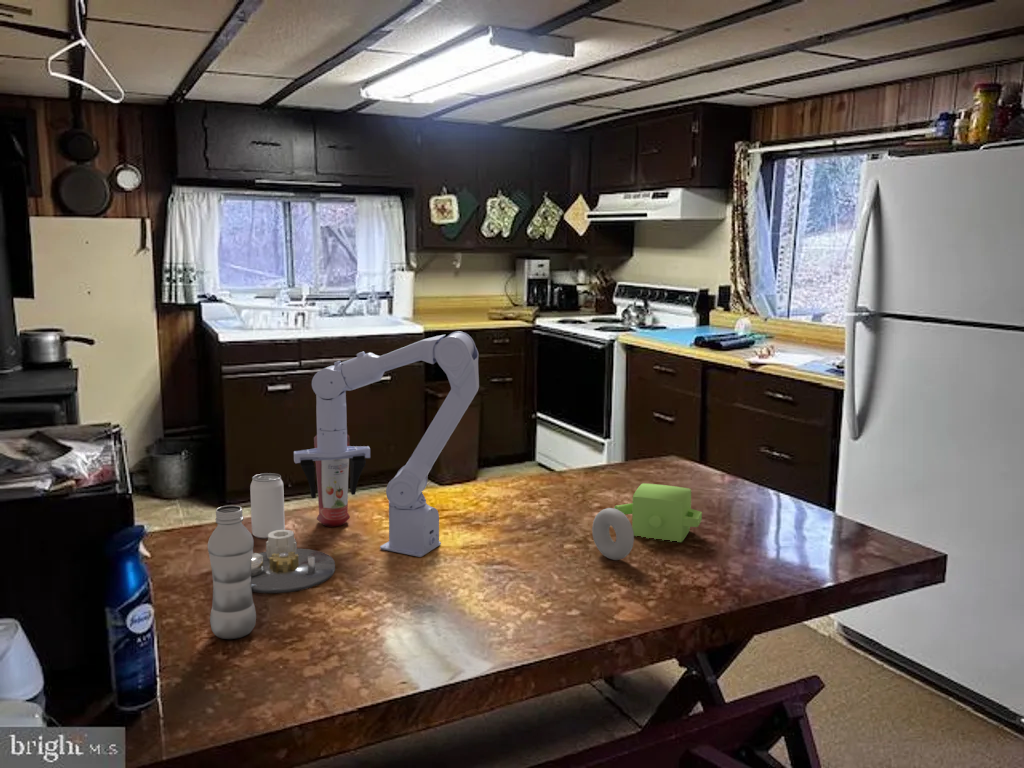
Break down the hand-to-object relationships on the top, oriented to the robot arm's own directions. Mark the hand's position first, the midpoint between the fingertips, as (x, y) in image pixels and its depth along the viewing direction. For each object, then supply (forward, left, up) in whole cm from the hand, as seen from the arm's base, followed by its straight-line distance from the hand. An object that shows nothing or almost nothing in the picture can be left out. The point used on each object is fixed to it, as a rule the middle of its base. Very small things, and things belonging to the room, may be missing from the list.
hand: (333, 495), depth 161 cm
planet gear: (+4, +12, -9) cm, 15 cm away
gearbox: (-56, -35, -10) cm, 67 cm away
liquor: (+7, -9, -10) cm, 15 cm away
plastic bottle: (-10, +38, -10) cm, 41 cm away
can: (+15, +2, -10) cm, 18 cm away
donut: (-52, -18, -10) cm, 56 cm away
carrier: (0, +17, -10) cm, 19 cm away
